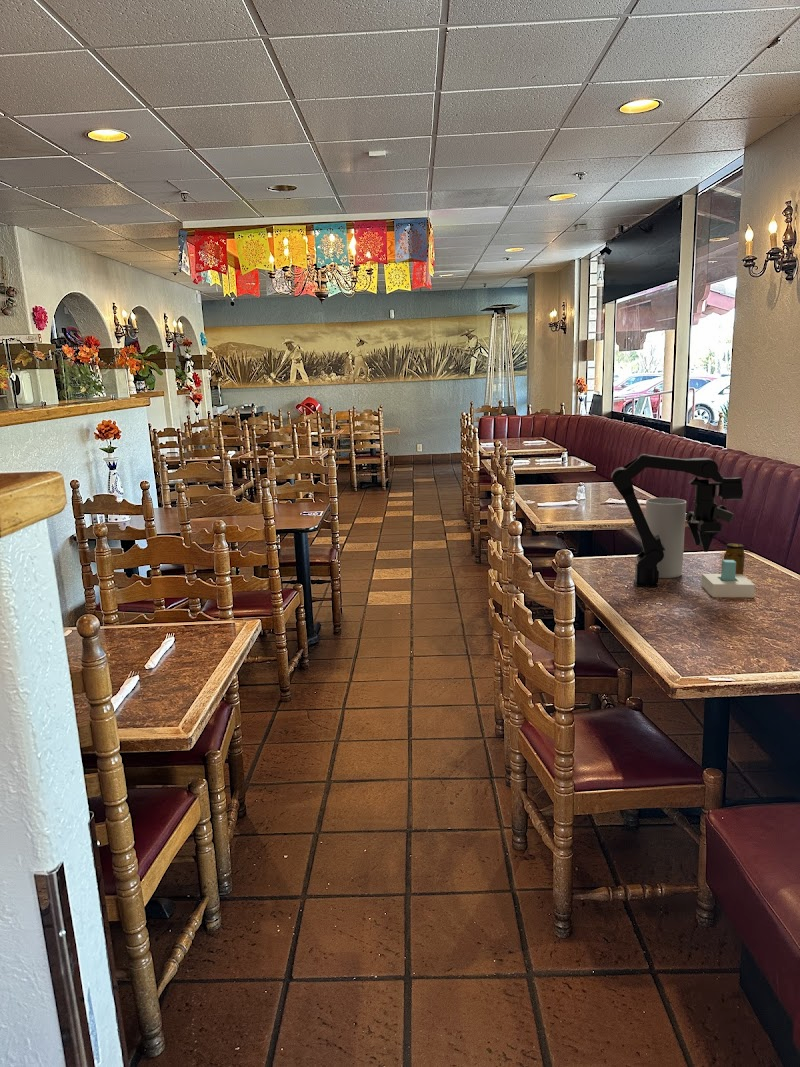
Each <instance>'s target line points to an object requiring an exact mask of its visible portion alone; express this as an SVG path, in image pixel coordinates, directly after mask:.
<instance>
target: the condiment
mask: <svg viewBox="0 0 800 1067" xmlns="http://www.w3.org/2000/svg"><path fill="white" fill-rule="evenodd" d="M725 546H726V547H725V552H724V553H723V554H724V555H723V560H734V561H735V562H736V574H742V575H744V570H745V559H746V558H745V557H746V556H745V555H746V554H745V553H744V552H745V545H743V544H741V543H734V542H731V543H726V545H725ZM750 581H751V582H752V583H753V582H754V580H750Z"/></svg>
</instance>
